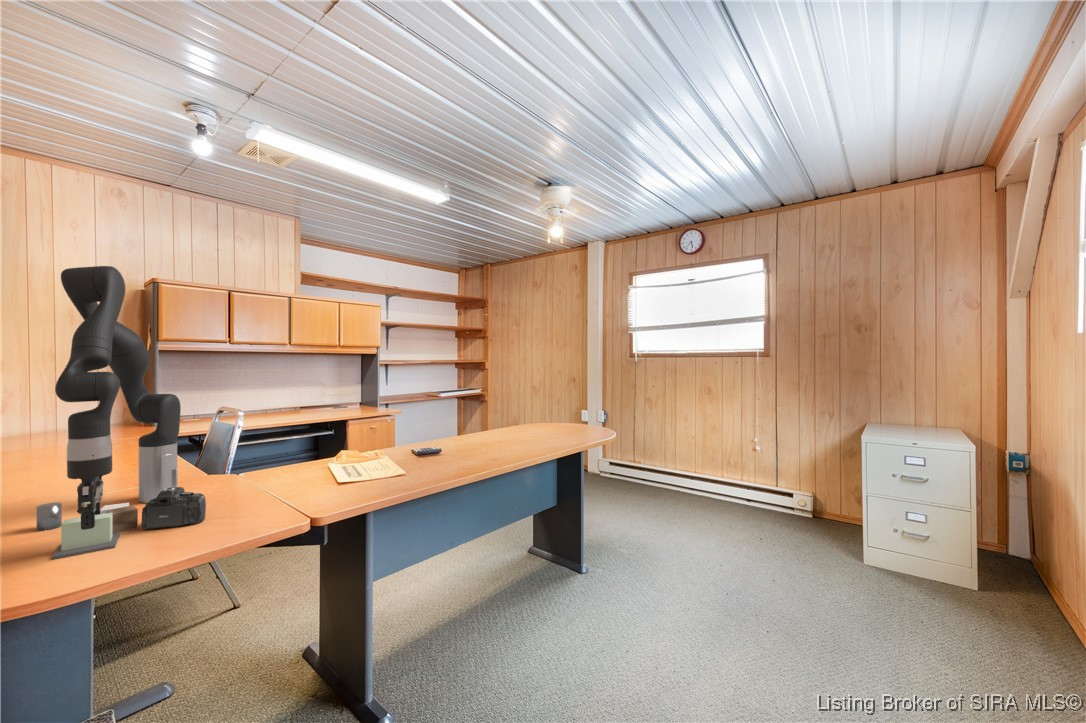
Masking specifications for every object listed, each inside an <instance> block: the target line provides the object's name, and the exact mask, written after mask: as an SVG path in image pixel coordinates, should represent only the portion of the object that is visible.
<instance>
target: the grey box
mask: <svg viewBox="0 0 1086 723" xmlns="http://www.w3.org/2000/svg"><path fill="white" fill-rule="evenodd" d="M126 506H130V502H122V503H116V504H107V505H106V504H105V505H104V506H103V507H102V508H100V514H106V513H107V510H111V509H116V508H121V507H126Z"/></svg>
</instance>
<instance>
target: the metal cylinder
mask: <svg viewBox="0 0 1086 723" xmlns="http://www.w3.org/2000/svg"><path fill="white" fill-rule="evenodd" d="M62 505H63V504H62V502H60V501H58V502H48V503H43V504H39V505H37V506H36V514H35V515H36V517H35V518H36V531H37V530H38V531H37V532H45V530H47V531H51V530H57V529H59V528H60V527H61V525H62V523H63V522H62V521H63V520H62V517H63V514H62V513H63V511H62V508H63V507H62Z"/></svg>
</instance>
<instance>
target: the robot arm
mask: <svg viewBox="0 0 1086 723" xmlns="http://www.w3.org/2000/svg"><path fill="white" fill-rule="evenodd" d="M60 282H61V284H62V287H63V289H64V291H65V294H66V295H67V297H68V298H69V300H70V301H71V302H72V304H73V306H74V307H75V309H76V310H77V311H78V313H79V315H80V316H81V317H82V319H83V322H81V323H80V325H78V327H77V328H76V330H75V332H73V336H72V340H71V346H70V347H71V349H70V356H69V360H68V362H67V364H66V366H65V367H64V369H63V370H62V372H61V374H60V376H59V377H58V379H57V381H56V383H55V386H54V389H55V394H56V396H57V397H58V398H59V400H61V401H62V402H65V403H87V402H98V405H97V406H96V407H95V408H92V409H89V410H83V411H79V412H74V413H72V414H70V415H69V417H68V418H67V419H68V420H67V435H68V436H67V437H68V438H67V439H68V440H67V445H66V477H67V479H71V480H81V481H80V483H79V484H78V485H77V488H76V492H77V511H76V512H77V514H79V515H80V517H81V529H82V530H86V529H91V528H94V526H95V515H99V514H100V510H101V501H102V499H103V496H104V480H103V476H106V475H109V474H110V473H112V471H113V443H112V441H113V440H112V438H111V415H112V411H113V407H114V404H115V401H116V398H117V397H118V396H117V395H118V393H119V391H120V389H121V392H122V394H123V396H124V399H125V403H126V405H127V407H128V410H129V412H130V415H131V416H132V418H133V419H134V420H135V421H136V422H138V423H141V424H142V423H143V424H156V429H155V430H154V431H152V432H150V433H146V434H144V435H141V436H140V437H139V438H138V502H139V503H143V504H144V503H146V504H147V503H148V502H149V501H150V500H151V499H155V498H156V497H157V496H158V494H159V493H160V492H161V491H162V490H164V489H166V488H172V487H178V437H179V433H180V423H181V402H180V398H179V397H178V396H177V395H175V394H172V393H150V391H148V389H147V387H146V384H145V381H144V379H145V375H146V373H147V371H148V368H149V365H150V360H151V359H150V358H151V357H150V354H149V351H148V349H147V347H146V345H145V343H144V340H143V339H142V338H141V336H140V335H139V334H137V333H136V332H135V331H133V330H132V329H130V328H129V327H128V326H126V325H124V324H122V323H121V322H119V321H118V318H119V316H120V313H121V310H122V306H123V303H124V299H125V295H126V283H125V279H124V277H123V274H122V273H121V272H120V271H119V270H118V269H117V268H116V267H113V266H111V265H110V266H109V265H98V266H84V267H83V266H82V267H81V266H80V267H70V268H65V269H63V270H62V272H61V273H60ZM98 302H99V303H98ZM108 366H109V368H110V369H111V371H112V372H111V371H97V370H102V369H104V368H106V367H108ZM85 505H86V506H85Z"/></svg>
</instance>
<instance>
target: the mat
mask: <svg viewBox="0 0 1086 723" xmlns="http://www.w3.org/2000/svg"><path fill="white" fill-rule="evenodd" d="M120 536H121V532H116V533H113V537H112V539H111V541H110V542H107V543H102V544H96V545H91V546H86V547H80V548H75V549H69V550H64V551H61V544H60V545H59V546H58V548H57V549H56V551H55V552H54V553H53V555H52V557H51V558H52V559H51V560H58V559H62V558H67V557H74V556H79V555H84V554H88V553H93V552H98V551H100V552H101V551H104V550H109V549H115V548H116V547H117V546H116V545H117V544H118V541H119V538H120Z"/></svg>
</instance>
